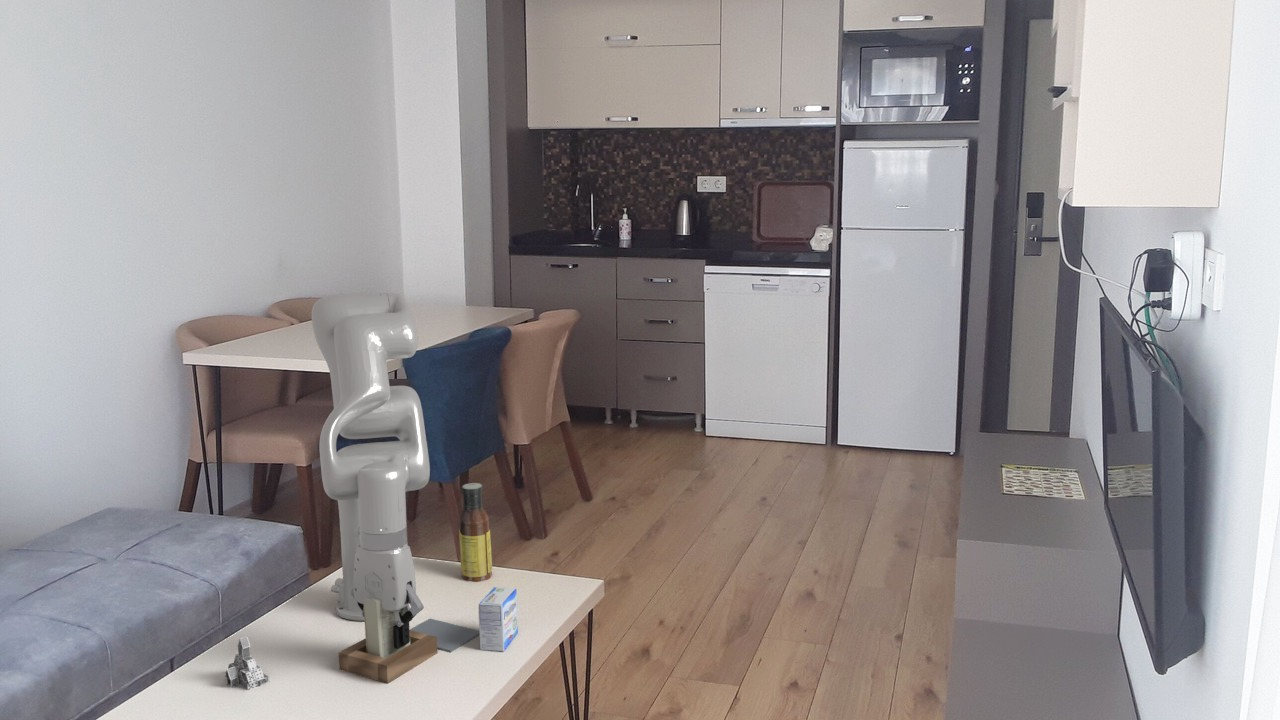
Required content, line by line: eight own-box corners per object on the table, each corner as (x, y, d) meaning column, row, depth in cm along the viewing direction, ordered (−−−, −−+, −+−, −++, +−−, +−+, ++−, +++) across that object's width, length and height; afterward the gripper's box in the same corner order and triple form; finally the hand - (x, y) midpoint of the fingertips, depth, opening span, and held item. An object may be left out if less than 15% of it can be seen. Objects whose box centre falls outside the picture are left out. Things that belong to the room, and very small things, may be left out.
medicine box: (504, 652, 180) (502, 604, 178) (479, 650, 180) (477, 602, 179) (518, 633, 187) (517, 587, 186) (494, 631, 188) (493, 585, 187)
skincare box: (397, 651, 180) (394, 583, 178) (412, 658, 177) (409, 590, 175) (365, 663, 176) (361, 594, 174) (380, 671, 173) (376, 601, 171)
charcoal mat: (396, 638, 185) (396, 636, 185) (430, 620, 193) (429, 618, 193) (450, 652, 180) (450, 650, 179) (482, 633, 187) (482, 631, 187)
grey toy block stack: (191, 686, 169) (187, 641, 167) (242, 667, 175) (239, 624, 174) (218, 703, 163) (215, 657, 162) (270, 684, 169) (267, 639, 168)
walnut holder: (339, 669, 173) (338, 652, 173) (390, 641, 184) (390, 625, 184) (387, 683, 168) (386, 665, 168) (437, 653, 179) (436, 636, 179)
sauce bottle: (478, 571, 218) (475, 478, 214) (499, 578, 214) (496, 484, 210) (453, 580, 213) (450, 485, 209) (474, 587, 209) (471, 491, 205)
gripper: (328, 536, 174) (334, 639, 177) (408, 553, 166) (413, 661, 169) (360, 523, 180) (365, 623, 183) (439, 539, 172) (443, 643, 175)
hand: (388, 640), depth 176 cm, fingers closed on skincare box, 5 cm apart
